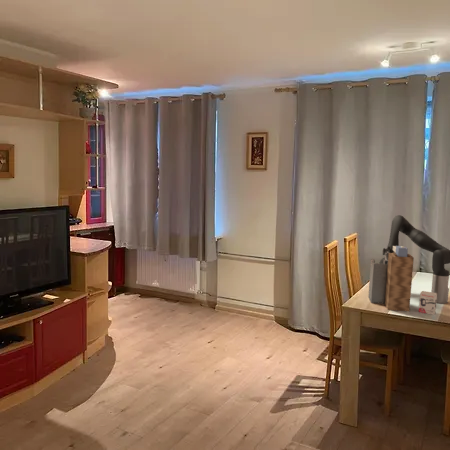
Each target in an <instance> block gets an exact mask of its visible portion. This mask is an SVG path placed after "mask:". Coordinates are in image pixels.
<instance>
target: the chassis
mask: <svg viewBox="0 0 450 450" xmlns="http://www.w3.org/2000/svg"><path fill="white" fill-rule="evenodd" d="M387 269H388V260H384V261H383V264H379V263H377V262H376V260H375V258H372V259H370V270H369V283H368V296H367V297H368V299H369V301H370V303H371V304H380V305H385V296H386V282H387Z"/></svg>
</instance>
